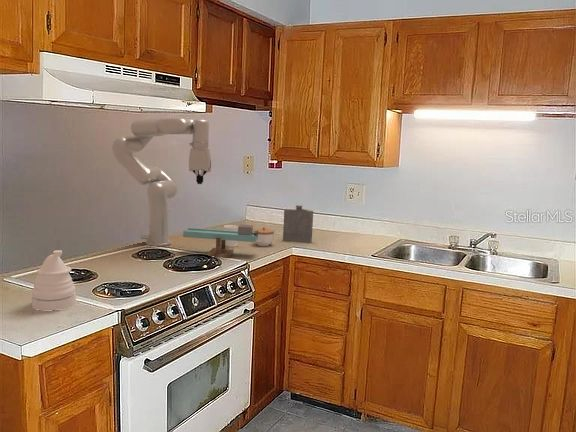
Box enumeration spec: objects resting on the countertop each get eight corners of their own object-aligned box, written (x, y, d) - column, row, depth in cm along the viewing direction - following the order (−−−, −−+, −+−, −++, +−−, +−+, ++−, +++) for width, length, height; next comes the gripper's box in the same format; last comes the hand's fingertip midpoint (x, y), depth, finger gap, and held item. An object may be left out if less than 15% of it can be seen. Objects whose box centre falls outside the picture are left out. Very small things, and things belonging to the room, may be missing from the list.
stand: (207, 256, 238) (207, 237, 237) (213, 250, 251) (213, 232, 249) (228, 258, 237) (228, 238, 236) (233, 251, 250) (234, 233, 249)
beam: (182, 239, 239) (183, 228, 238) (188, 235, 249) (188, 225, 248) (255, 244, 237) (255, 233, 236) (258, 240, 247) (258, 230, 246)
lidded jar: (271, 247, 262) (271, 229, 261) (250, 246, 264) (251, 228, 262) (275, 243, 273) (275, 226, 271) (255, 242, 274) (256, 224, 273)
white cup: (221, 244, 266) (222, 225, 264) (236, 243, 269) (236, 224, 267) (225, 247, 259) (225, 228, 257) (240, 246, 261) (240, 227, 260)
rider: (237, 236, 239) (238, 226, 238) (240, 233, 245) (240, 224, 244) (250, 237, 238) (250, 227, 237) (252, 234, 244) (252, 225, 243)
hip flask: (282, 241, 280) (283, 204, 277) (283, 239, 284) (285, 203, 281) (311, 243, 278) (313, 206, 274) (312, 241, 282) (314, 205, 278)
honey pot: (84, 301, 170) (83, 248, 167) (55, 314, 158) (53, 257, 155) (53, 296, 174) (51, 244, 171) (22, 307, 162) (20, 252, 159)
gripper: (182, 145, 243) (182, 183, 246) (214, 146, 242) (213, 185, 245) (187, 144, 250) (186, 182, 253) (217, 146, 249) (216, 184, 252)
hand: (199, 183), depth 249 cm, fingers closed
